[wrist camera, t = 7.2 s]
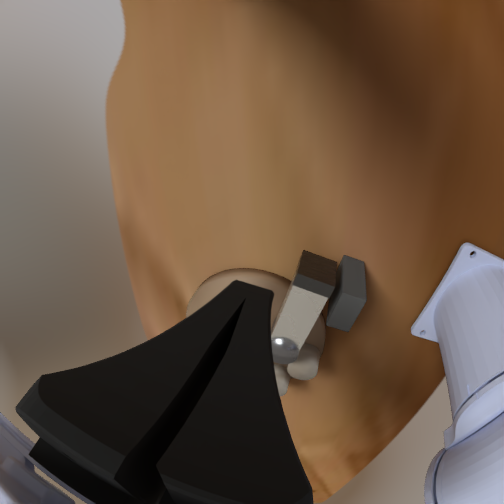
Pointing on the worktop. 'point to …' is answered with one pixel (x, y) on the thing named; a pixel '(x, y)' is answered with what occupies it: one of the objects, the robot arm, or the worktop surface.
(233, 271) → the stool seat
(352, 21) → the worktop surface
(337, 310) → the block
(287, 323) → the hinged leg
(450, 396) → the robot arm
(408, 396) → the worktop surface
